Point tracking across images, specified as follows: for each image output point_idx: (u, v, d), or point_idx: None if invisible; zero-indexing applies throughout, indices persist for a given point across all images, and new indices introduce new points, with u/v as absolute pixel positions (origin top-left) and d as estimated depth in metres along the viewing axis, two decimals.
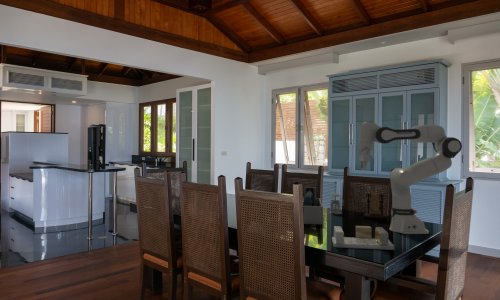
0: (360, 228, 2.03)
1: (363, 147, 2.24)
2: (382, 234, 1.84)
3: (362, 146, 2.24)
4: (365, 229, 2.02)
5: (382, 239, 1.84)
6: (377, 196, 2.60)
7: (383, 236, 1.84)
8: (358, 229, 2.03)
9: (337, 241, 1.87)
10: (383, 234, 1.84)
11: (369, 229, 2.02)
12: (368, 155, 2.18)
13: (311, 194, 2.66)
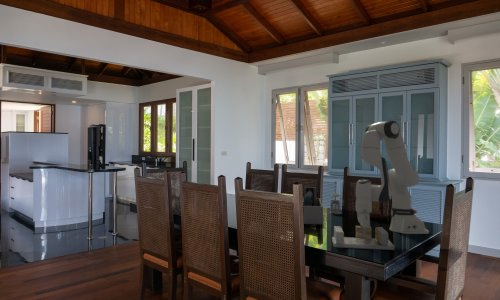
0: (360, 228, 2.03)
1: (361, 210, 2.01)
2: (382, 234, 1.84)
3: (360, 209, 2.01)
4: None
5: (382, 239, 1.84)
6: None
7: (383, 236, 1.84)
8: (358, 229, 2.03)
9: (337, 241, 1.87)
10: (383, 234, 1.84)
11: (369, 229, 2.02)
12: (367, 220, 1.95)
13: (311, 194, 2.66)
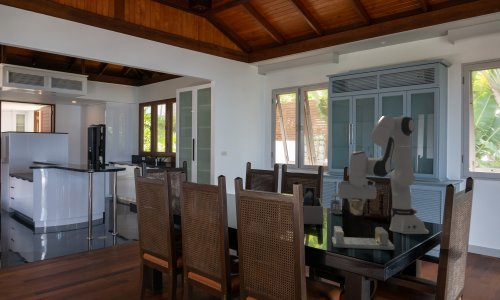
0: (351, 201, 1.95)
1: None
2: (382, 234, 1.84)
3: None
4: (353, 202, 1.92)
5: (382, 239, 1.84)
6: (377, 196, 2.60)
7: (383, 236, 1.84)
8: None
9: (337, 241, 1.87)
10: (383, 234, 1.84)
11: (354, 203, 1.90)
12: (339, 190, 1.92)
13: (311, 194, 2.66)
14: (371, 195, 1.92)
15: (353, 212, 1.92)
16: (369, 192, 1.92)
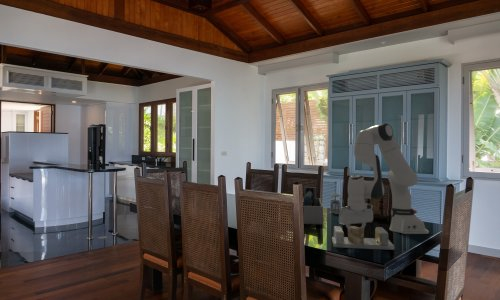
0: None
1: None
2: (382, 234, 1.84)
3: None
4: (353, 230, 1.91)
5: (382, 239, 1.84)
6: None
7: (383, 236, 1.84)
8: None
9: (337, 241, 1.87)
10: (383, 234, 1.84)
11: (356, 231, 1.89)
12: (341, 216, 1.88)
13: (311, 194, 2.65)
14: (369, 218, 1.93)
15: (354, 240, 1.90)
16: (367, 215, 1.93)
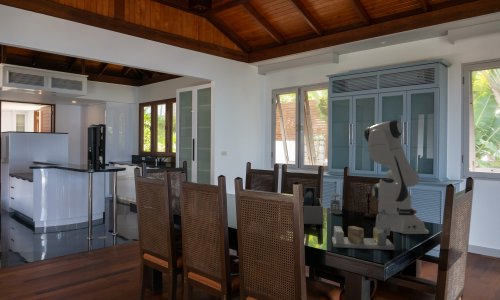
0: (350, 228, 1.94)
1: (380, 210, 1.88)
2: (380, 234, 1.84)
3: (379, 209, 1.89)
4: (353, 230, 1.91)
5: (380, 239, 1.84)
6: None
7: (381, 236, 1.84)
8: (349, 229, 1.95)
9: (337, 241, 1.87)
10: (381, 234, 1.84)
11: (356, 231, 1.89)
12: (380, 221, 1.82)
13: (311, 194, 2.65)
14: (396, 221, 1.94)
15: (354, 240, 1.90)
16: (395, 218, 1.93)
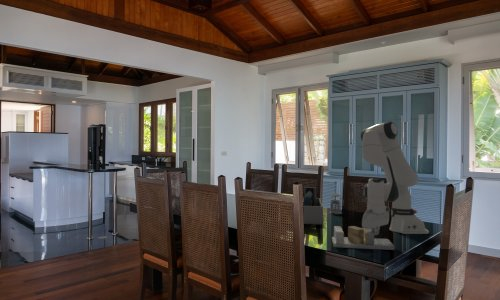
0: (350, 228, 1.94)
1: (368, 210, 1.90)
2: (368, 233, 1.85)
3: (367, 208, 1.90)
4: (353, 230, 1.91)
5: (368, 238, 1.85)
6: None
7: (369, 235, 1.85)
8: (349, 229, 1.95)
9: (337, 241, 1.87)
10: (369, 233, 1.85)
11: (356, 231, 1.89)
12: (366, 220, 1.84)
13: (311, 194, 2.65)
14: (386, 220, 1.94)
15: (354, 240, 1.90)
16: (385, 218, 1.93)
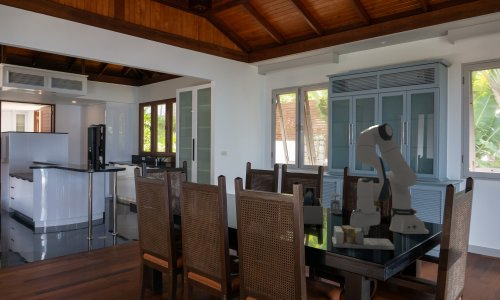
0: (343, 227, 1.96)
1: (357, 209, 1.91)
2: (358, 233, 1.85)
3: (357, 208, 1.91)
4: (345, 229, 1.93)
5: (358, 238, 1.85)
6: None
7: (359, 235, 1.85)
8: (342, 228, 1.97)
9: (337, 241, 1.87)
10: (359, 233, 1.85)
11: (346, 230, 1.91)
12: (353, 220, 1.85)
13: (311, 194, 2.65)
14: (377, 220, 1.94)
15: (345, 239, 1.92)
16: (375, 218, 1.93)
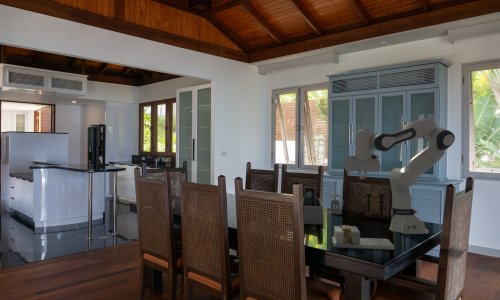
0: None
1: None
2: (354, 233, 1.86)
3: None
4: (342, 229, 1.94)
5: (354, 238, 1.86)
6: (377, 196, 2.60)
7: (355, 235, 1.86)
8: None
9: (337, 241, 1.87)
10: (355, 233, 1.86)
11: (342, 229, 1.92)
12: None
13: (311, 194, 2.65)
14: (376, 168, 2.12)
15: None
16: (374, 165, 2.12)
